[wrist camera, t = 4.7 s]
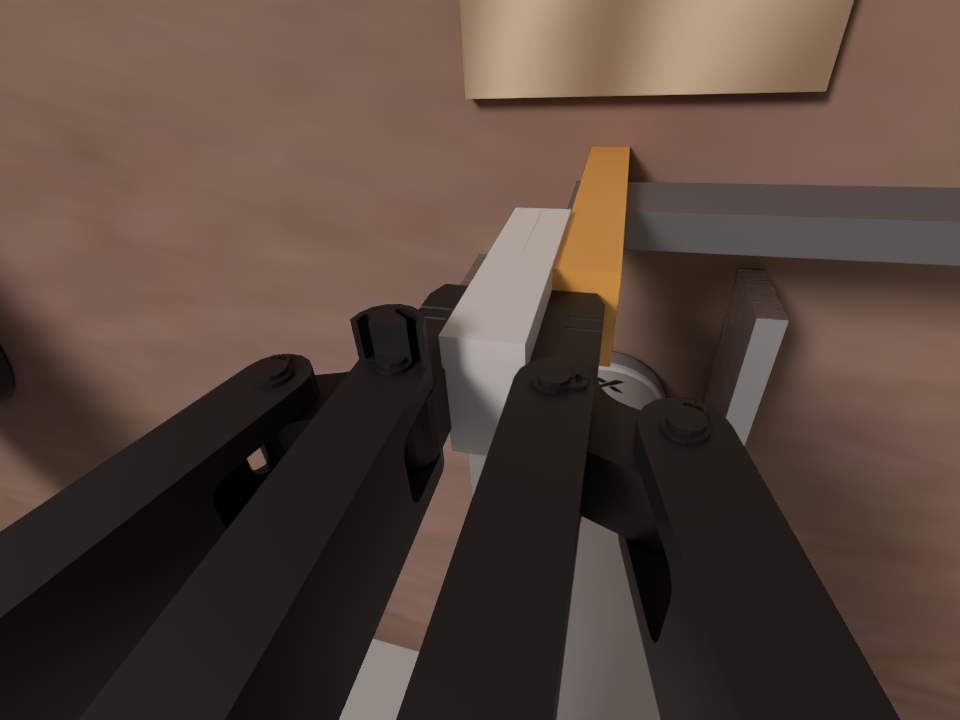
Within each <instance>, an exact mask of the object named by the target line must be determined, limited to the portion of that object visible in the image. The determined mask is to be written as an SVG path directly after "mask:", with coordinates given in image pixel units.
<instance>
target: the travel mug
mask: <svg viewBox="0 0 960 720" xmlns="http://www.w3.org/2000/svg"><path fill="white" fill-rule="evenodd" d="M598 382H599V384H600V386H601V388H602V389H603V390H604V391H605V392H606V393H607V394H608V395H609V396H611V397H612V398H614V399H615V400H617V401H619V402H621V403H623V404H625V405H628V406H630V407H633V408H636V409H639V410H641V409H642V408H643V406H645V405H647V404H648V403H650V402H652V401H654V400H656V399H663V398H665V394H664V390H663V387H662V385H661V382H660V381H659V380H658V378H657V377H656V375H655V374H654V373H653V372H652V371H651V370H650V369H649V368H648V367H647V366H646V365H644V364H642V363H641V362H639V361H638V360H636V359H634V358H632V357H629V356H627V355H624V354H621V353H617V352H612V355H611V364H610V367H604V366H599V369H598ZM556 720H660V715H659V711H658V707H657V703H656V698H655V694H654V690H653V686H652V681H651V677H650V673H649V669H648V664H647V660H646V656H645V651H644V647H643V643H642V639H641V634H640V630H639V626H638V622H637V617H636V613H635V609H634V605H633V600H632V596H631V592H630V588H629V583H628V579H627V575H626V571H625V566H624V562H623V558H622V553H621V549H620V545H619V541H618V534H617V533H615V532H613V531H611V530H609V529H607V528H605V527H603V526H600V525H598V524H596V523H594V522H592V521H590V520H588V519H586V518H584V517H582V519H581V523H580V531H579V539H578V547H577V556H576V564H575V572H574V580H573V588H572V597H571V605H570V613H569V621H568V629H567V637H566V646H565V654H564V662H563V670H562V678H561V687H560V695H559V703H558V711H557V719H556Z"/></svg>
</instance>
